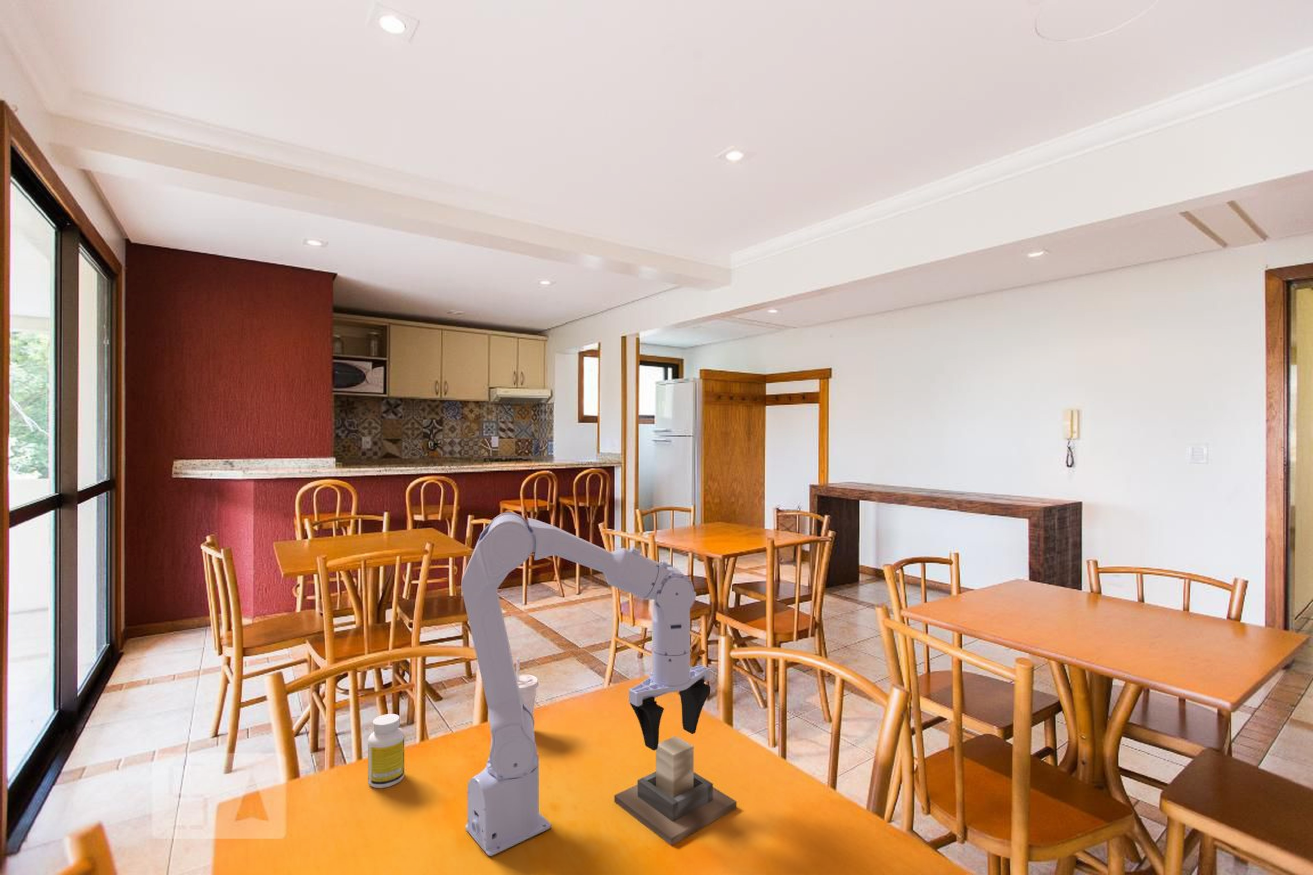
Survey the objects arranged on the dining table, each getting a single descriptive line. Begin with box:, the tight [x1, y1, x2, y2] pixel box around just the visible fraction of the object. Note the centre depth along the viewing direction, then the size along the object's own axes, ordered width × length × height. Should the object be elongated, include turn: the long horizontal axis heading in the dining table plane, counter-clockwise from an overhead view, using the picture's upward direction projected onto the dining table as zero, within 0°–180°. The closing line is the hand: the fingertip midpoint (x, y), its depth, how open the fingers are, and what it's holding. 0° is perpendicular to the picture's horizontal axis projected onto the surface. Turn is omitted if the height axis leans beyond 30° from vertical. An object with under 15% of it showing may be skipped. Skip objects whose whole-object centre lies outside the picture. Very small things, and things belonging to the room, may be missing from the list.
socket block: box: [613, 771, 738, 846], centre depth 94 cm, size 13×13×4 cm
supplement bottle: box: [367, 713, 405, 789], centre depth 100 cm, size 5×5×10 cm
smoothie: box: [515, 657, 539, 716], centre depth 116 cm, size 6×6×14 cm
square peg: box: [655, 735, 695, 798], centre depth 94 cm, size 4×4×8 cm
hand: (670, 738), depth 94 cm, fingers open, 7 cm apart
